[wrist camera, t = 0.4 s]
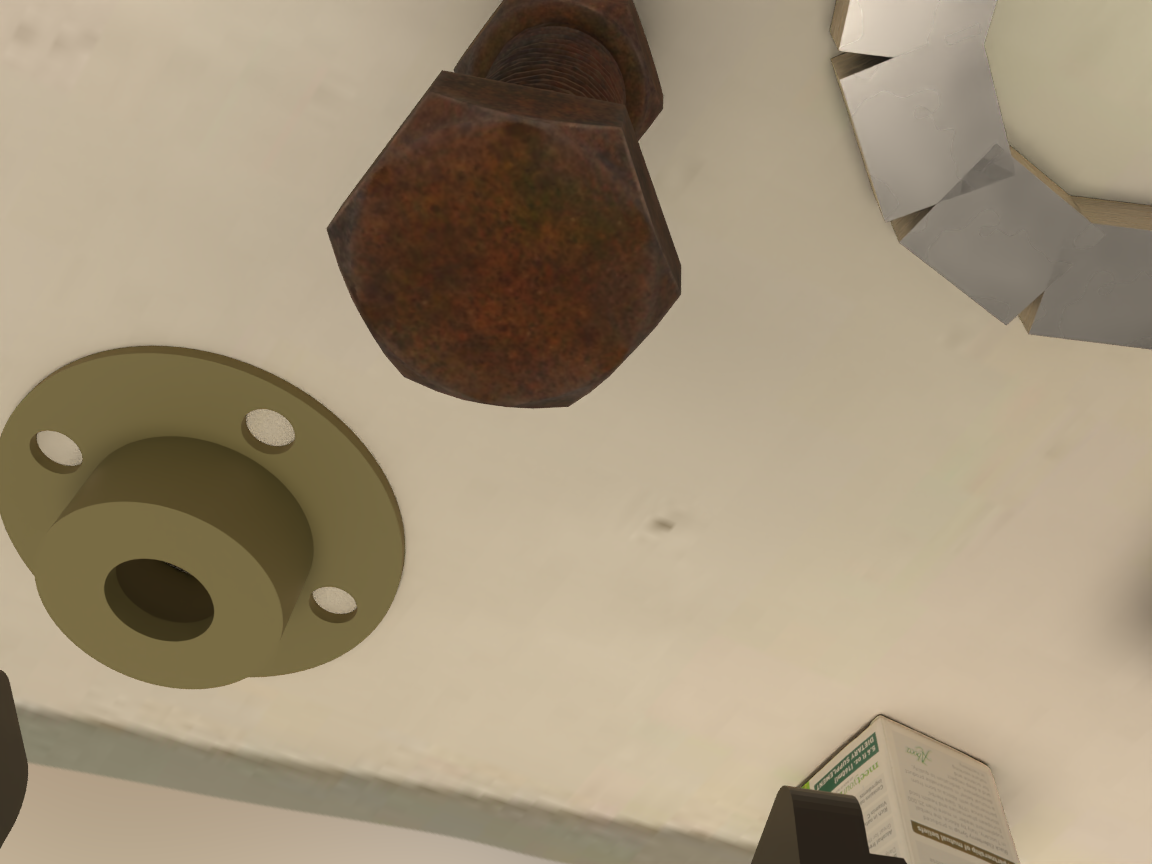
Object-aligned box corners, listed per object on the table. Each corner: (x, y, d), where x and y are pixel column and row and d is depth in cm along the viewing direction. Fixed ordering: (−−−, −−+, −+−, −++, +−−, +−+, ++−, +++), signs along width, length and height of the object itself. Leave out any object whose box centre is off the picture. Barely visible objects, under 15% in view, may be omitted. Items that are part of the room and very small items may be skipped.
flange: (258, 804, 43) (462, 579, 35) (-119, 621, 39) (24, 324, 31) (293, 712, 46) (484, 492, 39) (-46, 537, 42) (97, 256, 35)
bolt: (570, -122, 28) (482, 19, 15) (717, 12, 29) (745, 242, 17) (439, 56, 30) (272, 301, 18) (579, 172, 32) (515, 470, 19)
